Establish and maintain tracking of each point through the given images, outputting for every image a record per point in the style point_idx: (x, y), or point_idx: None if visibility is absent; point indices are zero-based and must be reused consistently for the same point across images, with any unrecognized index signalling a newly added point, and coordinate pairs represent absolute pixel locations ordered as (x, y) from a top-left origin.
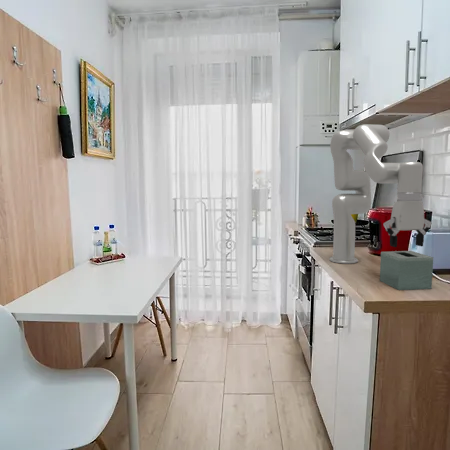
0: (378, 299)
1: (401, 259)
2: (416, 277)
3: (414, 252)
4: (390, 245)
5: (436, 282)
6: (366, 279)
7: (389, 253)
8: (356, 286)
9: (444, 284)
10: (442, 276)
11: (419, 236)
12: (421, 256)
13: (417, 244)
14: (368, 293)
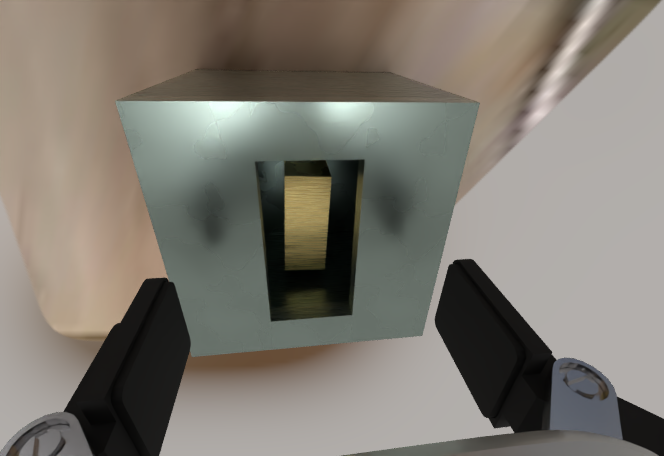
0: (100, 323)
1: (205, 349)
2: None
3: (440, 182)
4: (148, 283)
5: (473, 145)
6: (112, 22)
7: (182, 203)
8: (20, 168)
9: (476, 179)
10: (612, 34)
11: (489, 384)
12: (373, 313)
13: (448, 288)
14: (72, 268)
